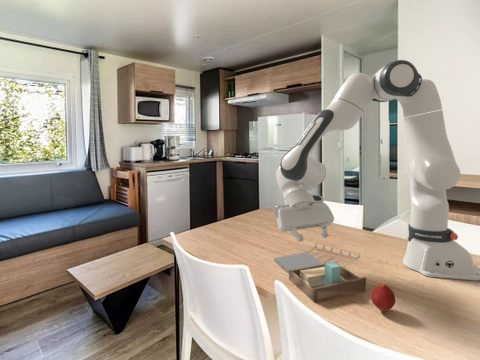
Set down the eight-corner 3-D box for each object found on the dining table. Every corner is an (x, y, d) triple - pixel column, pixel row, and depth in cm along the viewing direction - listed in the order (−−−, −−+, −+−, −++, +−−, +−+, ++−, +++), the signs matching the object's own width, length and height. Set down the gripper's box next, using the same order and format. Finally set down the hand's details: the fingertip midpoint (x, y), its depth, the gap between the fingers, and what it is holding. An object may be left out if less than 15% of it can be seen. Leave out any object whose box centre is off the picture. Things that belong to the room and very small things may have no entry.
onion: (380, 302, 84) (381, 275, 83) (399, 312, 79) (401, 284, 78) (365, 308, 81) (366, 280, 80) (385, 319, 76) (386, 290, 75)
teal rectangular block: (324, 288, 93) (324, 263, 92) (332, 286, 94) (333, 261, 93) (331, 293, 90) (331, 267, 88) (339, 291, 91) (340, 266, 89)
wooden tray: (288, 279, 99) (288, 267, 99) (334, 270, 105) (334, 259, 104) (314, 302, 85) (314, 289, 84) (365, 290, 90) (366, 278, 90)
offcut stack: (296, 279, 99) (296, 270, 98) (330, 272, 103) (330, 263, 102) (307, 288, 93) (307, 278, 92) (342, 280, 97) (342, 271, 97)
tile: (274, 260, 114) (274, 257, 114) (306, 255, 118) (306, 252, 118) (292, 276, 101) (292, 273, 101) (328, 269, 105) (328, 266, 105)
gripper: (274, 201, 102) (288, 238, 94) (326, 196, 108) (343, 230, 100) (269, 211, 106) (282, 247, 99) (319, 205, 113) (335, 239, 105)
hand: (313, 238), depth 100 cm, fingers open, 8 cm apart
